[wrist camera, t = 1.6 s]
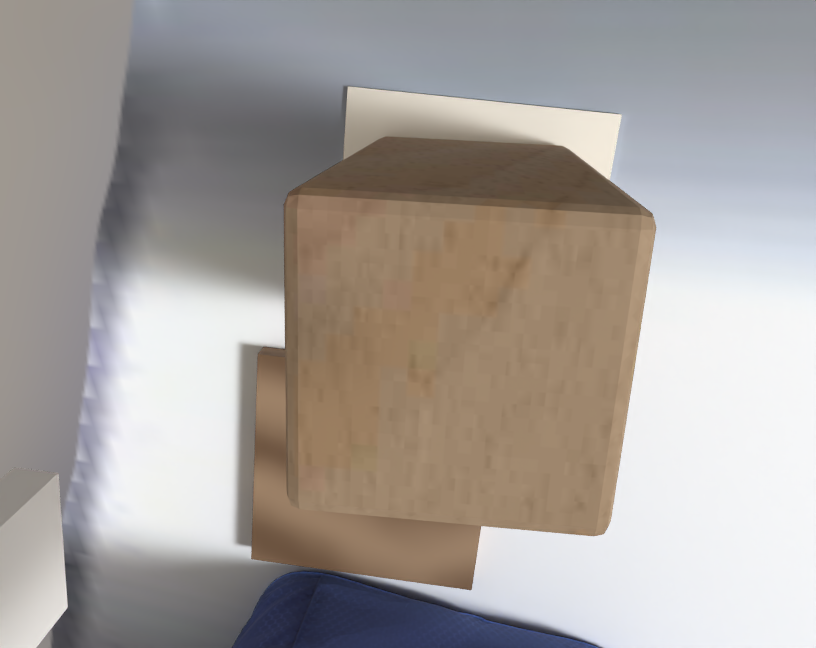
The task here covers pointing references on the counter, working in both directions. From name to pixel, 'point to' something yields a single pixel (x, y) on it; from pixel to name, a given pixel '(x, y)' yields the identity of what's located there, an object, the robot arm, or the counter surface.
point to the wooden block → (462, 334)
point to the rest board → (342, 514)
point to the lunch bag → (371, 620)
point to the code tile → (478, 123)
